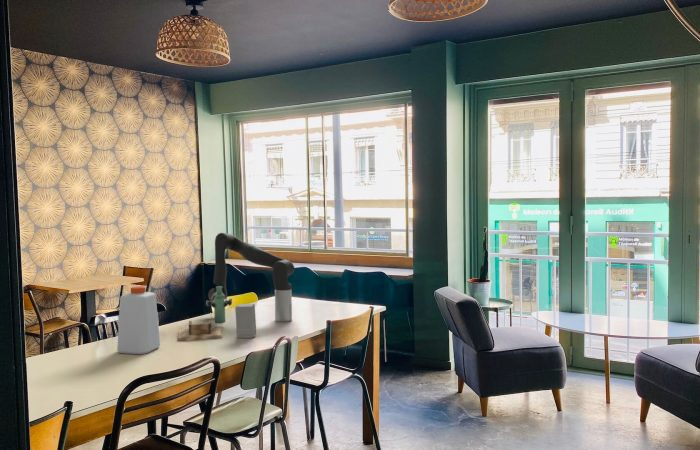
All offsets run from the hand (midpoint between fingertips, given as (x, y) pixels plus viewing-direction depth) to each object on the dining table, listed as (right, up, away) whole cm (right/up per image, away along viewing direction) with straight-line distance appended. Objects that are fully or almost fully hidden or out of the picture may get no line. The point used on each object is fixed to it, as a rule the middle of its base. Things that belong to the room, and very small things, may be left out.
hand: (219, 305), depth 283 cm
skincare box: (+17, -13, -18) cm, 28 cm away
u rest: (-6, -13, -15) cm, 20 cm away
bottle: (-1, -9, +3) cm, 10 cm away
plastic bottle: (-26, -14, -41) cm, 51 cm away
